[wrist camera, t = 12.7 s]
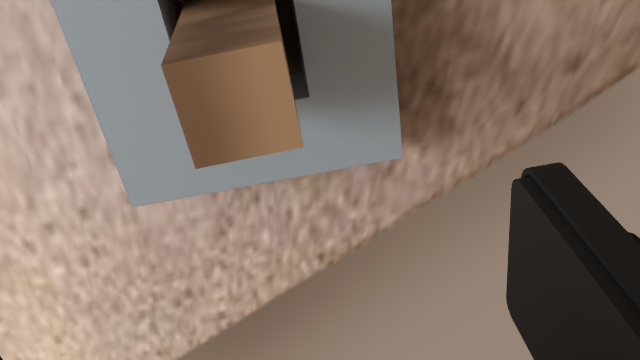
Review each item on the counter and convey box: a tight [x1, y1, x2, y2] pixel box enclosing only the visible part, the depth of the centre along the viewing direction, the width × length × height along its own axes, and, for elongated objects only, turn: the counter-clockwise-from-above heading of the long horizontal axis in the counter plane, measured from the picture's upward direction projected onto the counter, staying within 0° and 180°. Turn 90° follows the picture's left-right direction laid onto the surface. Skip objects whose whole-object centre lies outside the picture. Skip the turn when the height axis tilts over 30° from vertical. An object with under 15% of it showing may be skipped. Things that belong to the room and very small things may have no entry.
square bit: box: [161, 0, 304, 169], centre depth 23 cm, size 4×4×10 cm
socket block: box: [51, 0, 403, 207], centre depth 26 cm, size 14×14×4 cm
